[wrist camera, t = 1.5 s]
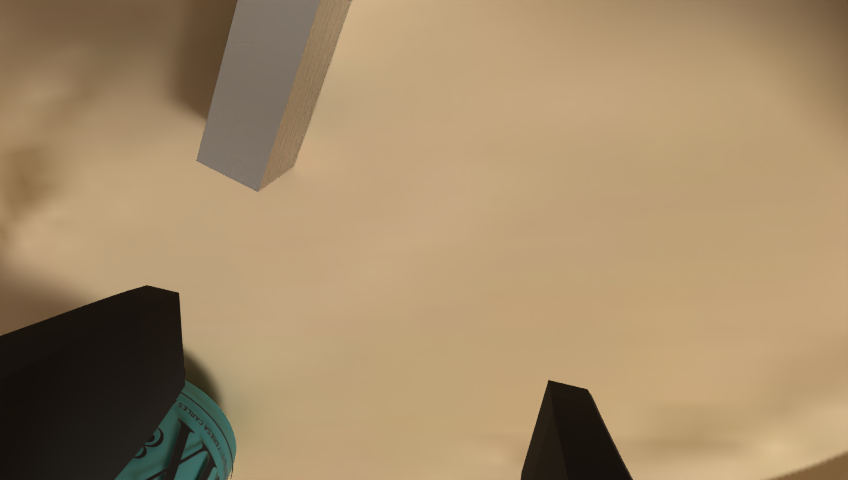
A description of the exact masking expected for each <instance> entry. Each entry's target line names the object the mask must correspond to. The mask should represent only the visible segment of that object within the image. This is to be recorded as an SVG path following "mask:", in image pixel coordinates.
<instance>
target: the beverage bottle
mask: <svg viewBox="0 0 848 480" xmlns="http://www.w3.org/2000/svg"><path fill="white" fill-rule="evenodd" d="M235 455H236V441H235V436H234V433H233V430H232V427H231V425H230V423H229V421H228V419H227V418H226V416H225V415H224V413H223V412H222V410H221V409H220V408H219V407H218V405H217V404H216V403H215V402H214V401H213V400H212V399H211V398H210V397H209V396H208V395H207V394H205V393H204V392H203V391H202V390H200V389H199V388H197V387H196V386H195V385H193V384H191V383H190V382H188V381H186V380H185V387H184V388H183V390H182V391H181V393H180V395H179V396H178V398H177V399H176V401H175V402H174V404H173V406H172V407H171V409H170V410H169V412H168V413H167V415H166V416H165V418H164V419H163V421H162V422H161V423H160V425H159V426H158V428H157V429H156V431H155V432H154V434H153V435H152V436H151V438H150V439H149V440H148V441H147V442H146V443H145V445H144V446H143V447H142V448H141V449H140V451H139V452H138V453H137V454H136V455H135V456H134V458H133V459H132V460H131V461H130V462H129V463H128V465H127V466H126V467H125V468H124V469H123V470H122V472H121V473H120V474H119V475H118V476H117V477H116V479H115V480H227V479H228V476H229V474H230V472H231V469H232V472H233V463H234V459H235ZM231 477H232V474H231Z"/></svg>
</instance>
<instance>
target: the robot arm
mask: <svg viewBox="0 0 848 480" xmlns="http://www.w3.org/2000/svg"><path fill="white" fill-rule="evenodd" d="M184 387H185V374H184V359H183V344H182V330H181V315H180V300H179V293H177V292H173V291H169V290H165V289H161V288H156V287H152V286H148V285H146V286H143V287H139V288H136V289H132V290H129V291H126V292H123V293H120V294H117V295H114V296H111V297H108V298H105V299H102V300H99V301H96V302H94V303H91V304H88V305H85V306H83V307H80V308H77V309H74V310H72V311H69V312H66V313H63V314H60V315H58V316H55V317H52V318H49V319H47V320H44V321H41V322H38V323H35V324H33V325H30V326H27V327H24V328H22V329H19V330H16V331H13V332H10V333H8V334H5V335H2V336H0V480H115V479H116V477H117V476H118V475H119V474H120V473H121V472H122V470H123V469H124V468H125V467H126V466H127V465H128V463H129V462H130V461H131V460H132V459H133V458H134V456H135V455H136V454H137V453H138V452H139V451H140V449H141V448H142V447H143V446H144V445H145V443H146V442H147V441H148V440H149V439H150V438H151V436H152V435H153V434H154V432H155V431H156V429H157V428H158V426H159V425H160V423H161V422H162V421H163V419H164V418H165V416H166V415H167V413H168V412H169V410H170V409H171V407H172V406H173V404H174V402H175V401H176V399H177V398H178V396H179V395H180V393H181V391H182V390H183V388H184ZM521 480H633V479H632V477H631V475H630V473H629V471H628V470H627V468H626V466H625V464H624V462H623V460H622V458H621V456H620V454H619V452H618V450H617V448H616V446H615V444H614V442H613V440H612V438H611V436H610V434H609V432H608V430H607V428H606V425H605V423H604V421H603V419H602V417H601V415H600V413H599V410H598V408H597V406H596V404H595V402H594V400H593V397H592V396H591V394H590V393H589V391H588V390H587V389H584V388H580V387H575V386H571V385H567V384H563V383H558V382H554V381H550V380H548V384H547V387H546V391H545V394H544V397H543V401H542V404H541V408H540V411H539V415H538V418H537V421H536V425H535V428H534V432H533V435H532V439H531V442H530V445H529V449H528V452H527V456H526V459H525V462H524V466H523V469H522V473H521Z"/></svg>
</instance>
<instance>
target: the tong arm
mask: <svg viewBox="0 0 848 480" xmlns="http://www.w3.org/2000/svg"><path fill="white" fill-rule="evenodd" d="M350 3H351V0H238V1H237V5H236V8H235V12H234V16H233V20H232V24H231V28H230V32H229V36H228V40H227V43H226V47H225V51H224V55H223V59H222V63H221V67H220V71H219V75H218V79H217V82H216V86H215V90H214V94H213V98H212V102H211V106H210V110H209V114H208V118H207V121H206V125H205V129H204V133H203V137H202V141H201V145H200V149H199V153H198V156H197V160H196V161H198V162H200V163H202V164H204V165H206V166H208V167H210V168H212V169H214V170H216V171H218V172H220V173H221V174H223V175H225V176H227V177H229V178H231V179H233V180H235V181H237V182H239V183H241V184H243V185H245V186H247V187H249V188H251V189H253V190H255V191H257V192H259V191H260V190H262V189H263V188H264V187H266V186H267V185H269V184H270V183H271V182H273V181H274V180H276V179H277V178H278V177H280V176H281V175H283V174H284V173H285V172H287V171H288V170H289V169H291V168H292V167H293V166H294V163H295V160H296V157H297V155H298V152H299V149H300V146H301V143H302V140H303V137H304V135H305V132H306V129H307V126H308V123H309V120H310V117H311V115H312V112H313V109H314V106H315V103H316V100H317V97H318V95H319V92H320V89H321V86H322V83H323V80H324V77H325V74H326V72H327V69H328V66H329V63H330V60H331V57H332V54H333V52H334V49H335V46H336V43H337V40H338V37H339V34H340V32H341V29H342V26H343V23H344V20H345V17H346V14H347V12H348V9H349V6H350Z"/></svg>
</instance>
